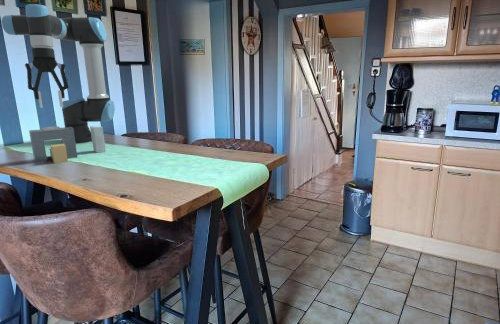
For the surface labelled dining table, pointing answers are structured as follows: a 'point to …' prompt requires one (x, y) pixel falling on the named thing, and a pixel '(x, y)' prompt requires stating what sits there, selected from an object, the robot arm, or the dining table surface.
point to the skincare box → (97, 139)
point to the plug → (58, 153)
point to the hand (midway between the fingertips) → (51, 107)
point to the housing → (51, 134)
